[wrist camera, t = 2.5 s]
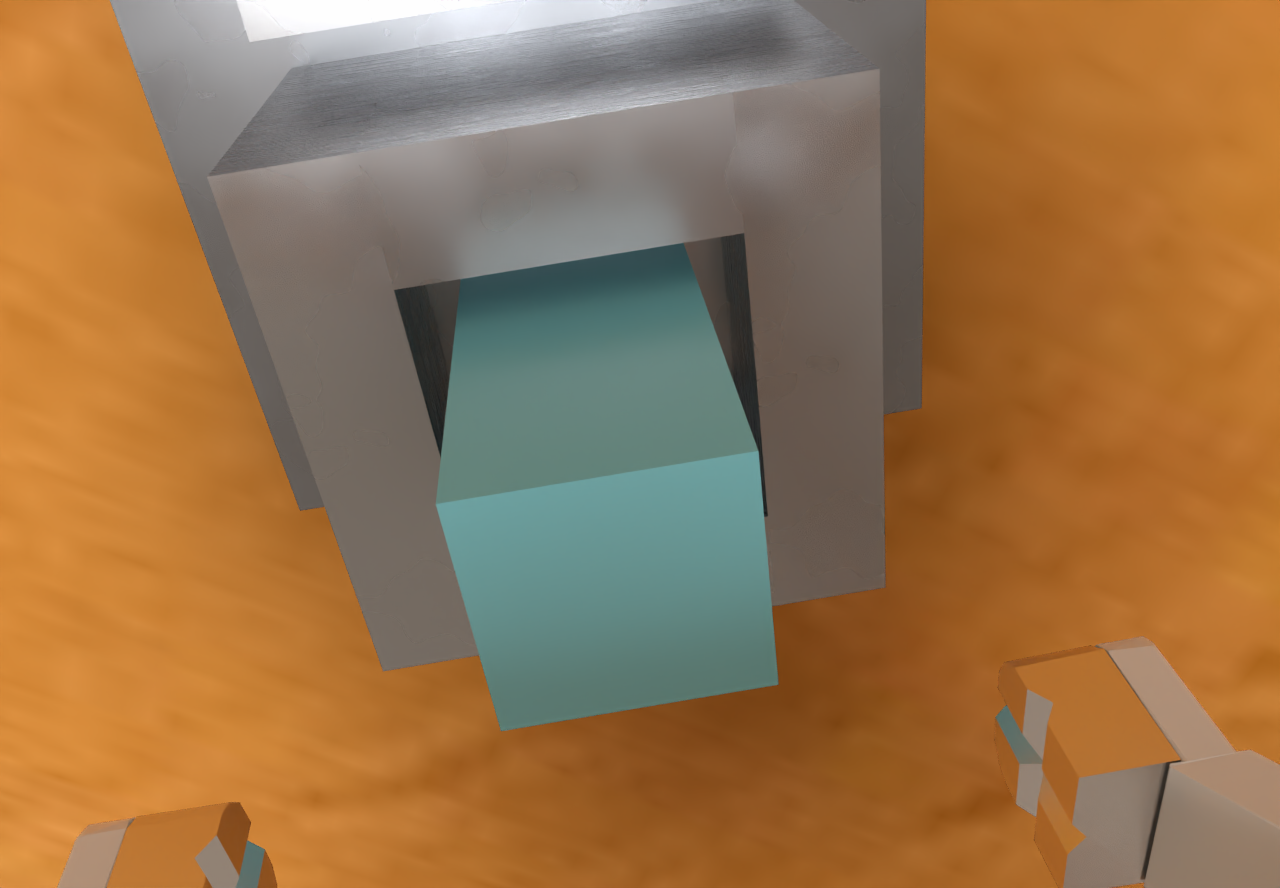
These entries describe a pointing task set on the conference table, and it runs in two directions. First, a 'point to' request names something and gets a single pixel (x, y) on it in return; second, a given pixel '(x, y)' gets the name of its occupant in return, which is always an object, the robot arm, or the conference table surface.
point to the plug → (602, 491)
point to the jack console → (551, 235)
